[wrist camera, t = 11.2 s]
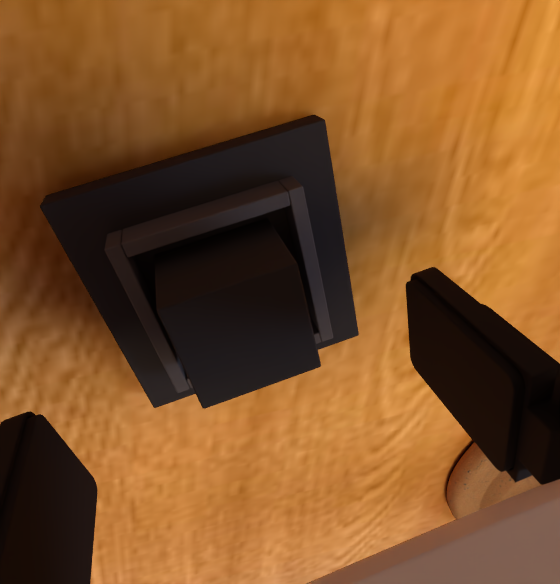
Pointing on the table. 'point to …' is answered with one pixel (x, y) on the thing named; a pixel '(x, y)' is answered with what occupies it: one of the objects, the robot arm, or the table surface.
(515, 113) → the table surface
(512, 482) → the candle holder
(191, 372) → the black block
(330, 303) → the base pad
